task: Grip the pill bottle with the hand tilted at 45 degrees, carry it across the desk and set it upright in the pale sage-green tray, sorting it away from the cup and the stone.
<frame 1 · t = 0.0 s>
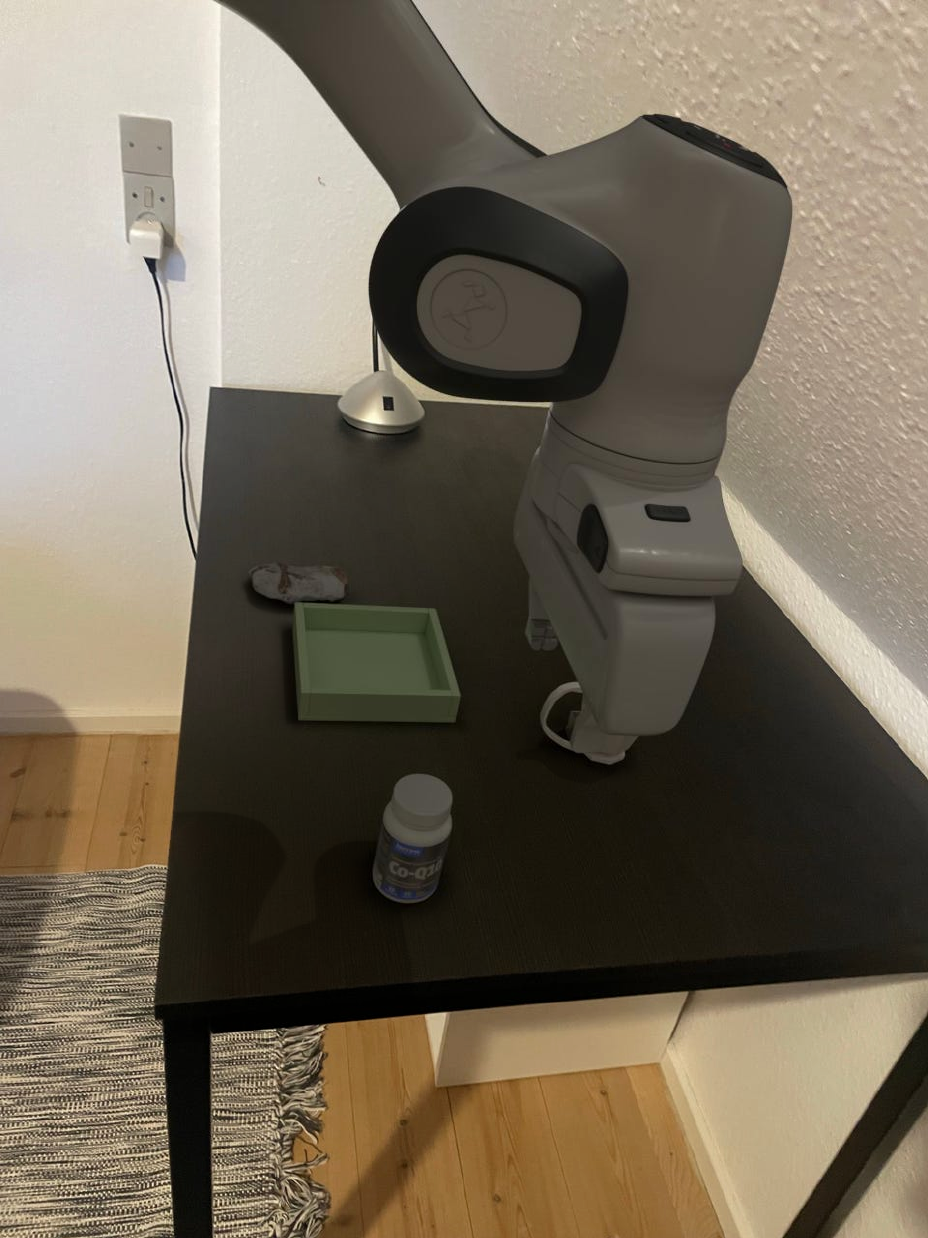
hand: (559, 691, 56), 20 cm above the table, tool pointing down, fingers open, 8 cm apart
stone: (297, 595, 96), on the table
cup: (585, 749, 83), on the table
sage tray: (370, 673, 86), on the table
pill bottle: (404, 881, 67), on the table
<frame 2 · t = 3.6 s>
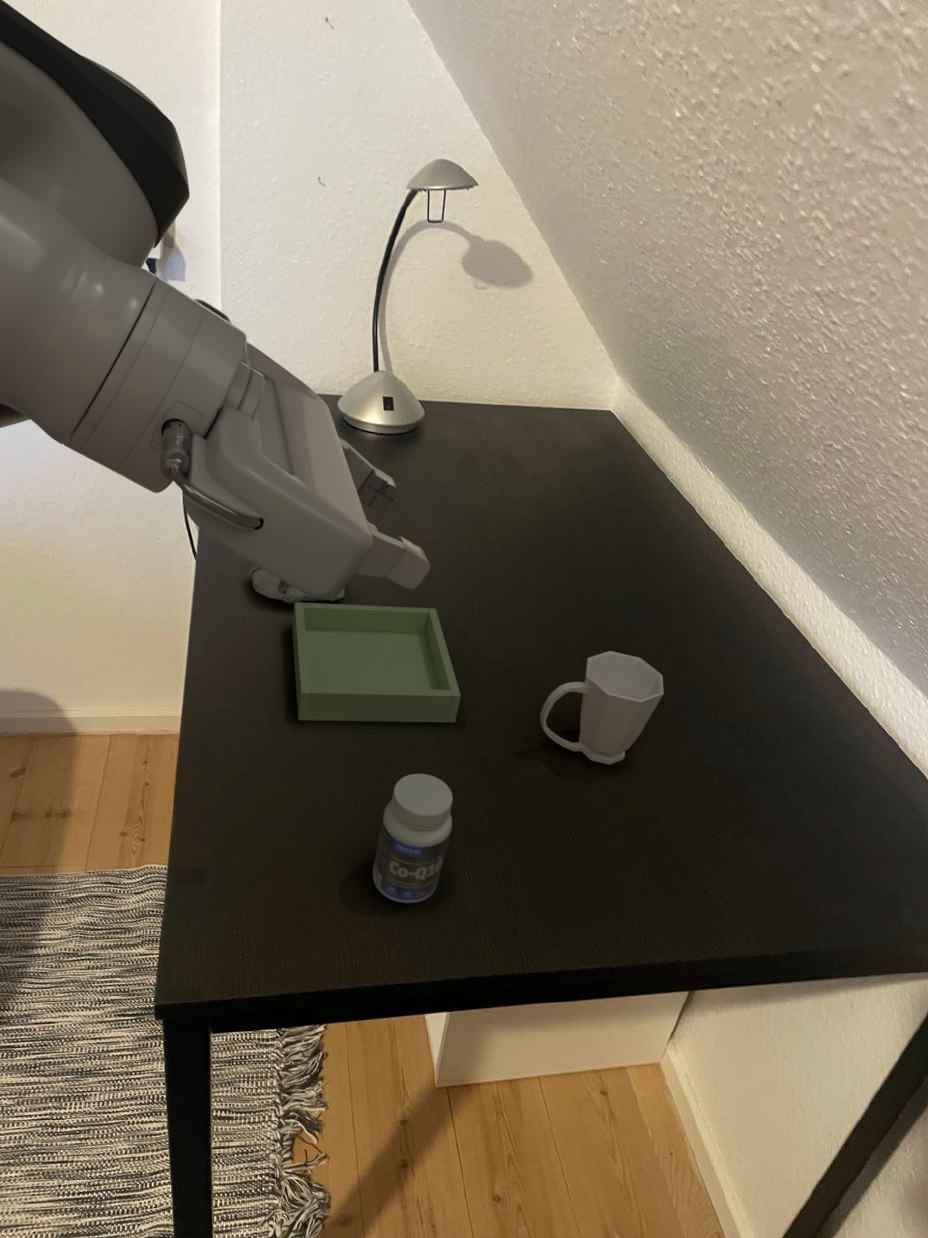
hand: (404, 532, 51), 28 cm above the table, tool tilted 60°, fingers open, 8 cm apart
nothing on the table moved.
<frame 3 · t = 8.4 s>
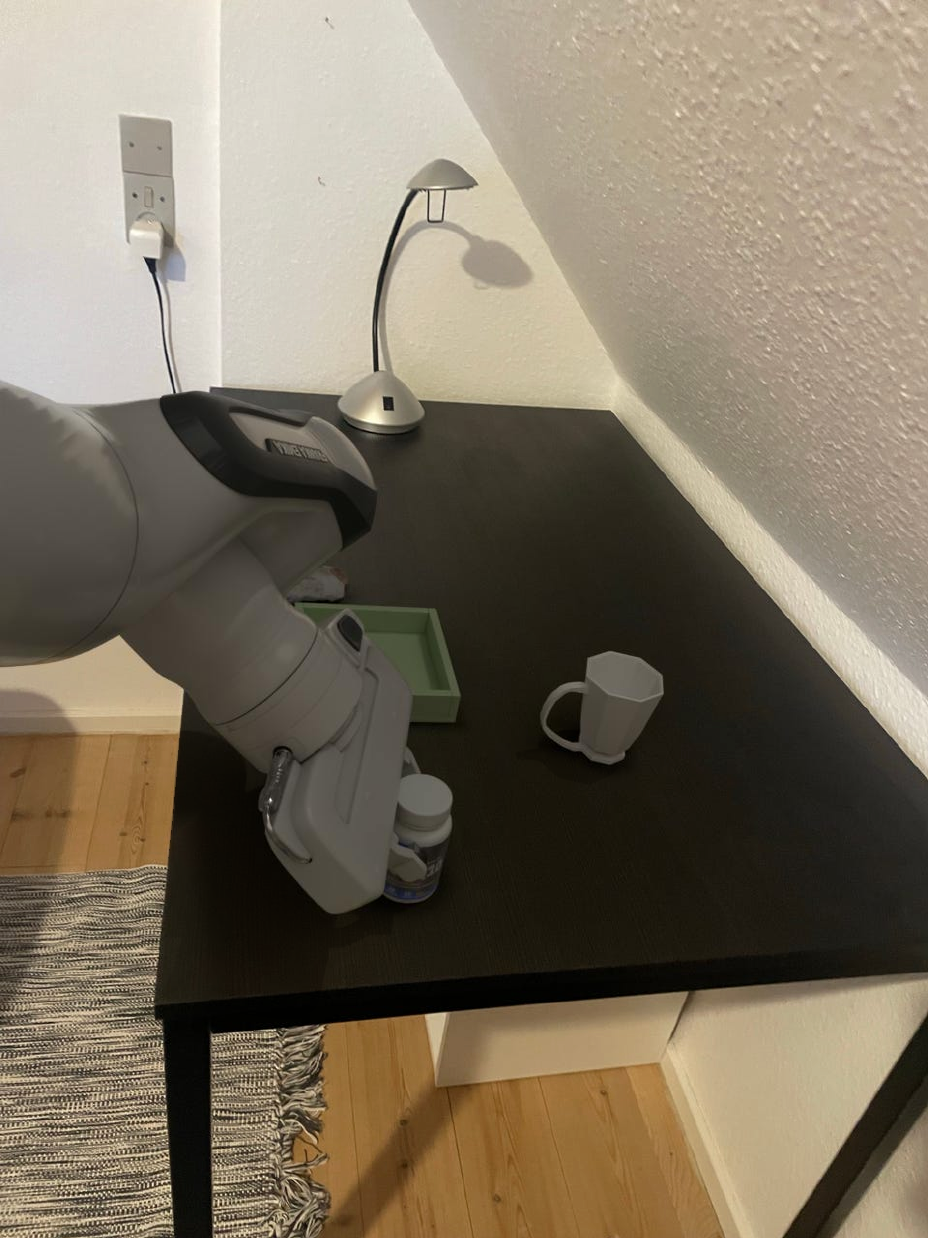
hand: (423, 837, 65), 4 cm above the table, tool tilted 45°, fingers closed on pill bottle, 5 cm apart
pill bottle: (404, 881, 67), on the table, touching gripper
everything else where it was.
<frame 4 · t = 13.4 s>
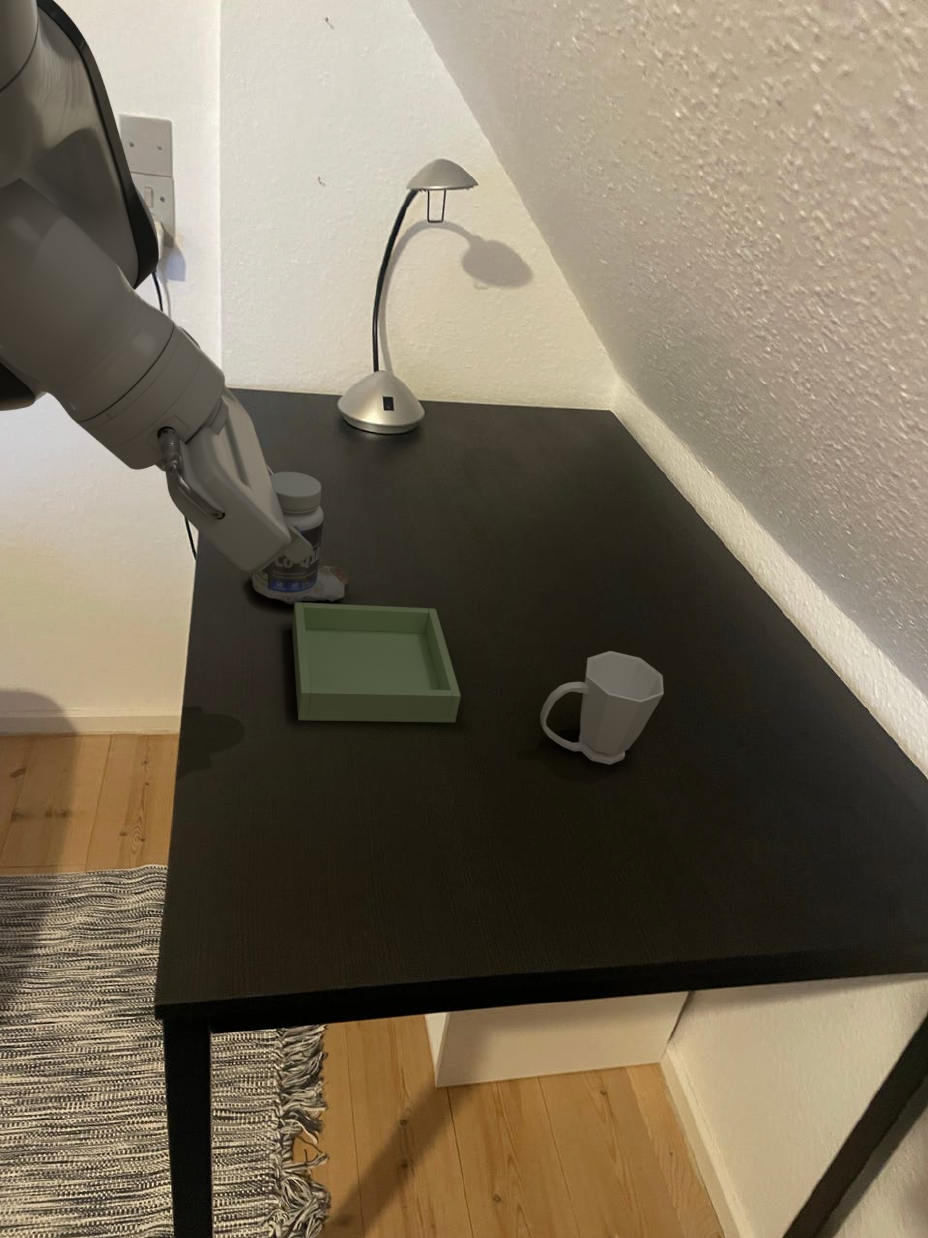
hand: (297, 531, 70), 18 cm above the table, tool tilted 45°, fingers closed on pill bottle, 5 cm apart
pill bottle: (285, 584, 72), point 13 cm above the table, touching gripper
everything else where it was.
when the fingers open (5 cm above the table, at t = 18.8 s): pill bottle stays where it is, resting on sage tray.
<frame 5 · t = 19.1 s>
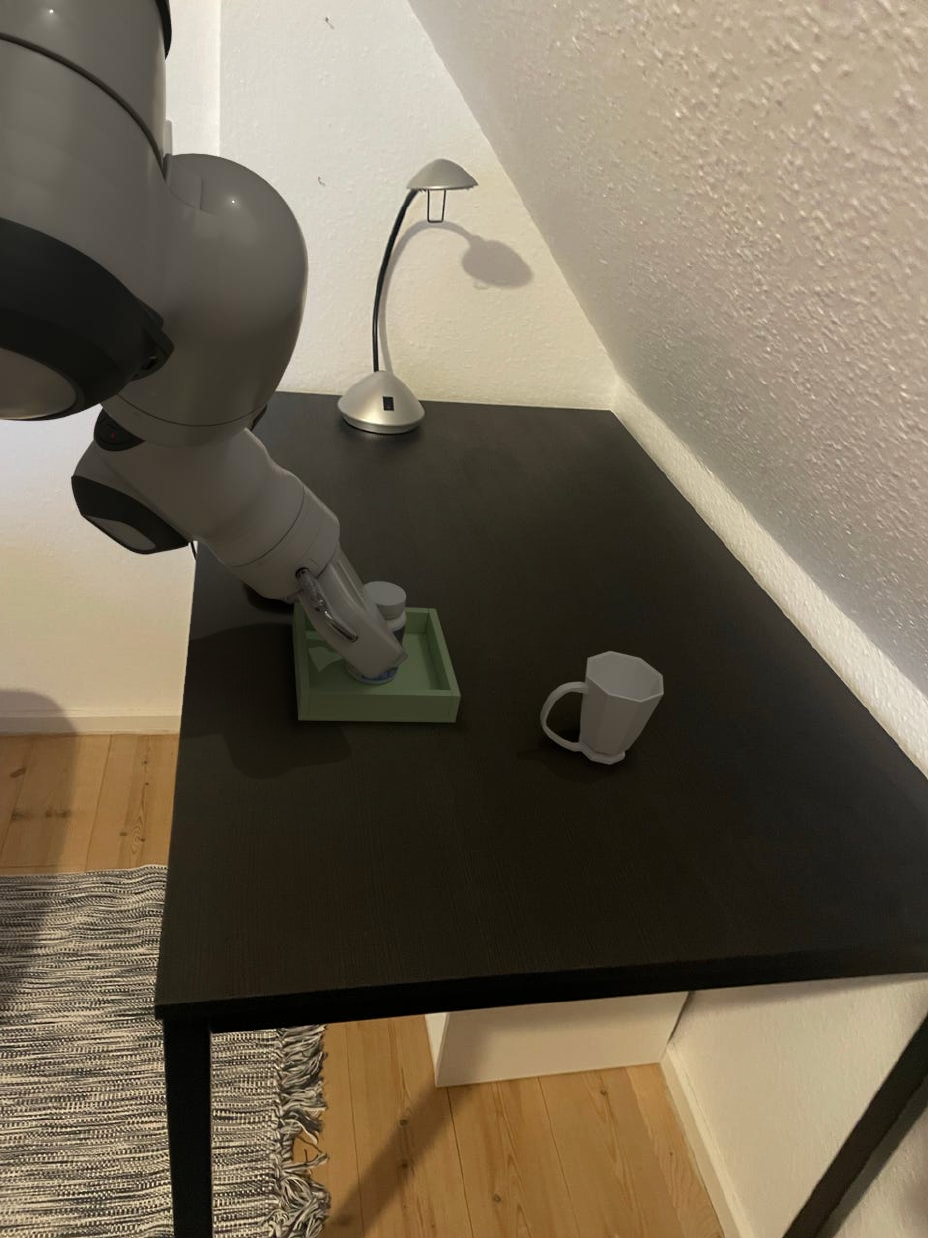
hand: (383, 630, 84), 5 cm above the table, tool tilted 45°, fingers open, 7 cm apart
pill bottle: (371, 671, 86), resting on sage tray
everything else where it was.
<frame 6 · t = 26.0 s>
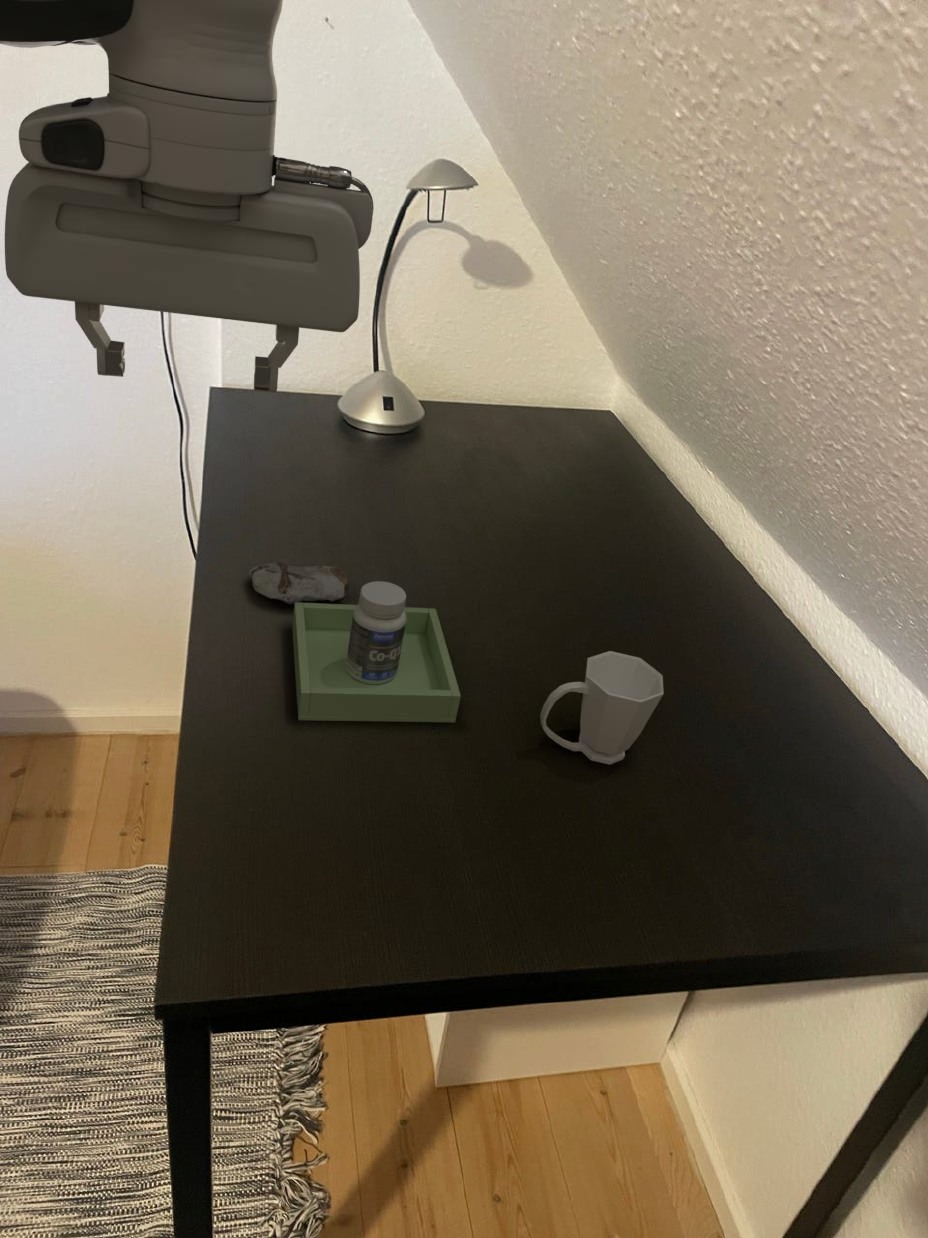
hand: (189, 380, 60), 29 cm above the table, tool pointing down, fingers open, 8 cm apart
nothing on the table moved.
at the end: pill bottle inside the target area in the sage tray (0.2 cm from its centre), point 0.3 cm above the sage tray's base; pill bottle tilted 0°; the gripper is holding nothing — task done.
